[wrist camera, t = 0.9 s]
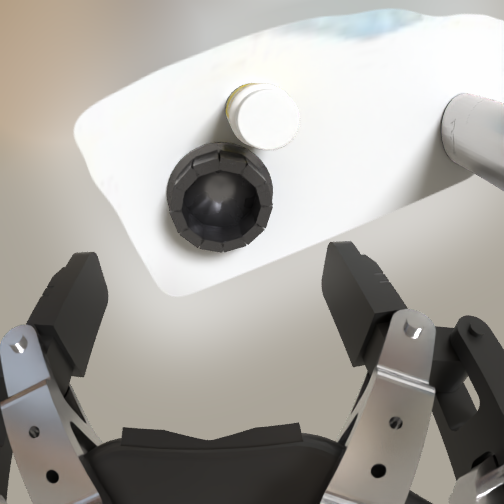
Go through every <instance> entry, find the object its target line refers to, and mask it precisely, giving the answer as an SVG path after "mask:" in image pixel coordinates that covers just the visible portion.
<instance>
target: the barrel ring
mask: <svg viewBox="0 0 504 504" xmlns="http://www.w3.org/2000/svg"><path fill="white" fill-rule="evenodd" d="M272 196H273V186H272V180H271V177H270V174H269V172H268V170H267V168H266V167H265V165H264V164H263V162H262V161H261V160H260V159H259V158H258V157H257V156H256V155H255V154H254V153H252V152H251V151H249V150H248V149H246V148H244V147H241V146H239V145H235V144H231V143H210V144H206V145H203V146H200V147H198V148H196V149H194V150H192V151H190V152H189V153H188V154H186V155H185V156H184V157H183V158H182V159H181V160H180V161H179V162H178V164H177V165H176V166H175V168H174V170H173V171H172V174H171V176H170V179H169V183H168V188H167V200H168V205H169V208H170V210H169V211H170V215H171V217H172V219H173V222H174V224H175V226H176V229H177V231H178V233H180V235H181V236H182V237H183V238H185V239H186V240H188V241H189V242H190V243H192V244H193V245H194V246H196V247H197V248H198V247H199V246H200V249H204V250H210V251H216V252H222V251H223V250H224V252H227V251H231V250H234V249H237V248H241V247H244V246H246V244H248V245H249V244H250V243H251V242H252V241H253V240H254V239H255V238H256V237H257V236H258V235H259V234H261V233H262V232H263V231H264V230H265V229H264V228H266V226H267V223H268V220H269V217H270V214H271V211H272V208H273V207H272V205H273V204H272Z"/></svg>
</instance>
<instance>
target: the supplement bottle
mask: <svg viewBox="0 0 504 504" xmlns="http://www.w3.org/2000/svg"><path fill="white" fill-rule="evenodd" d="M225 111H226V117H227V119H228V122H229V124H230V126H231V128H232V131H233V132H234V134H235V135H236V137H237V138H238V139H239V140H240V141H242V142H243V143H245V144H247V145H249V146H251V147H255V148H258V149H261V150H275V149H279V148H282V147H284V146H285V145H287V144H288V143H290V142H291V141H292V140H293V138H294V137H295V136H296V134H297V132H298V130H299V126H300V114H299V110H298V108H297V106H296V104H295V103H294V101H293V100H292V99H291V98H290V97H289V96H288V94H287V93H285V92H284V91H283V90H282V89H280V88H278V87H276V86H274V85H270V84H263V83H251V84H245V85H242V86H240V87H238V88H237V89H235V90H234V91H233V92H232V93H231V94H230V96H229V97H228V100H227V102H226V107H225Z"/></svg>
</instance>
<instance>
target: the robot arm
mask: <svg viewBox="0 0 504 504" xmlns="http://www.w3.org/2000/svg"><path fill="white" fill-rule="evenodd" d="M441 134H442V142H443V145H444V149H445V151H446V153H447V155H448V156H449V157H450V159H451V160H452V161H454V162H455V163H457V164H458V165H460V166H462V167H464V168H466V169H468V170H469V171H471V172H473V173H475V174H476V175H478V176H480V177H481V178H483V179H485V180H486V181H488V182H490V183H491V184H493V185H495V186H496V187H498V188H499V189H501V190H502V191H504V103H501V102H497V101H494V100H491V99H487V98H484V97H480V96H476V95H472V94H468V93H463V94H460V95H457V96H456V97H454V98H453V99H452V100H451V102H450V103H449V104H448V106H447V108H446V110H445V113H444V116H443V120H442V131H441ZM322 292H323V296H324V298H325V300H326V303H327V305H328V307H329V310H330V312H331V314H332V317H333V319H334V322H335V324H336V326H337V329H338V331H339V333H340V336H341V339H342V341H343V343H344V346H345V348H346V351H347V353H348V356H349V358H350V361H351V363H352V366H353V367H356V366H362V365H365V366H366V368H367V370H368V371H367V373H366V375H365V377H364V380H363V382H362V385H361V388H360V390H359V392H358V395H357V397H356V399H355V402H354V404H353V406H352V409H351V411H350V414H349V416H348V418H347V420H346V422H345V424H344V426H343V428H342V429H341V431H340V433H339V435H338V437H337V439H336V441H333V440H330V439H328V438H325V437H321V436H318V435H312V434H307V433H301V429H300V425H299V423H293V424H285V425H278V426H269V427H258V428H253V429H250V430H246V431H243V432H240V433H236V434H233V435H230V436H226V437H222V438H219V439H215V440H203V439H197V438H194V437H189V436H185V435H181V434H177V433H173V432H169V431H165V430H153V429H137V428H125V427H123V431H122V438H119V439H115V440H112V441H109V442H106V443H103V442H102V441H101V440H100V438H99V437H98V436H97V434H96V433H95V431H94V430H93V428H92V427H91V425H90V423H89V421H88V419H87V417H86V415H85V413H84V411H83V409H82V407H81V405H80V403H79V401H78V399H77V397H76V394H75V392H74V390H73V388H72V386H71V385H70V383H69V382H70V379H71V376H76V377H84V375H85V372H86V368H87V364H88V361H89V358H90V355H91V351H92V348H93V345H94V342H95V339H96V335H97V333H98V330H99V326H100V324H101V321H102V318H103V314H104V312H105V309H106V306H107V303H108V290H107V285H106V283H105V280H104V277H103V273H102V270H101V266H100V263H99V260H98V256H97V255H96V253H94V252H82V253H75V254H73V256H72V257H71V259H70V260H69V262H68V264H67V265H66V267H63V268H62V269H61V270H60V271H59V272H58V273H56V274H55V275H54V276H53V277H52V279H51V281H50V282H49V284H48V286H47V288H46V289H45V291H44V293H43V296H42V297H41V298H40V299H39V302H38V303H37V305H36V307H35V308H34V310H33V312H32V314H31V316H30V318H29V320H28V321H27V323H26V325H19V326H16V327H14V328H12V329H11V330H9V331H8V332H7V333H6V334H5V336H4V337H3V338H2V341H1V343H0V504H7V503H6V499H7V488H8V480H9V472H10V464H11V458H12V453H13V454H14V457H15V460H16V463H17V465H18V468H19V471H20V474H21V476H22V479H23V481H24V484H25V486H26V489H27V491H28V493H29V496H30V498H31V500H32V502H33V504H432V503H431V502H429V501H427V500H425V499H423V498H422V497H420V496H419V495H417V494H415V493H414V492H412V491H410V487H411V485H412V481H413V479H414V475H415V473H416V469H417V466H418V463H419V460H420V456H421V452H422V449H423V446H424V442H425V438H426V434H427V430H428V426H429V421H430V417H431V412H433V415H434V417H435V420H436V423H437V425H438V428H439V430H440V433H441V436H442V439H443V442H444V444H445V447H446V450H447V453H448V456H449V459H450V462H451V465H452V468H453V471H454V474H455V477H456V481H457V482H456V484H455V486H454V489H453V493H452V494H451V495H450V497H449V504H504V349H503V348H502V346H501V345H500V343H499V342H498V340H497V338H496V337H495V336H494V334H493V333H492V331H491V329H490V328H489V327H488V325H487V324H486V323H485V322H483V321H482V320H481V319H479V318H477V317H474V316H463V317H461V318H460V319H459V321H458V322H457V324H456V326H455V328H447V327H436V326H434V324H433V322H432V321H431V319H430V318H429V317H427V316H426V315H425V314H423V313H421V312H419V311H417V310H413V309H408V308H407V307H406V305H405V304H404V302H403V301H402V299H401V298H400V296H399V295H398V293H397V292H396V290H395V289H394V287H393V286H392V284H391V283H390V282H389V280H388V279H387V277H386V276H385V274H383V271H382V270H381V269H380V267H379V266H378V264H377V263H376V262H374V261H373V260H372V259H370V258H369V257H368V256H366V255H361V254H360V252H359V251H358V250H357V248H356V247H355V245H354V244H353V243H352V242H351V241H345V242H330V243H329V245H328V248H327V253H326V259H325V265H324V270H323V276H322ZM468 376H469V378H470V380H471V382H472V384H473V386H474V388H475V390H476V392H477V394H478V396H479V399H480V406H479V410H478V411H477V410H476V408H475V406H474V404H473V401H472V400H471V397H470V395H469V393H468V391H467V389H466V387H465V385H464V383H463V382H464V381H465V379H466V378H467V377H468Z"/></svg>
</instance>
